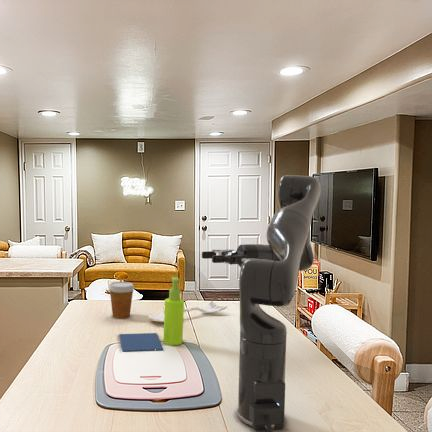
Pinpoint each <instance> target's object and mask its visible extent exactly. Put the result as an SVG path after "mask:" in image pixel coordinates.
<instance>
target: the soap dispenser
mask: <svg viewBox="0 0 432 432" xmlns="http://www.w3.org/2000/svg"><path fill="white" fill-rule="evenodd" d="M170 279H171V280H172V283H171V285H172V286H171V287H170V288H169V291H168V297H167V298H165V299H164V311H163V312H164V323H163V340H162V341H163V343H164V344H165V345H169V346H179V345H182V344H183V335H184V334H183V333H184V314H185V312H184V309H185V300H184V299H182V298H181V288H179V287H178V286H179V282H180V279H179V277H178V276H170Z"/></svg>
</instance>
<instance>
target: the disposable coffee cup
mask: <svg viewBox="0 0 432 432" xmlns="http://www.w3.org/2000/svg"><path fill="white" fill-rule="evenodd" d="M134 289H135V286H134V284H133V283H132V282H129V281H114V282H110V283H109V286H108V290H109V295H110V304H111V312H112V317H113V318H115V319H127V318H129V317H130V316H131V309H132V300H133V294H134Z"/></svg>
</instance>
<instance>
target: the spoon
mask: <svg viewBox="0 0 432 432" xmlns="http://www.w3.org/2000/svg"><path fill="white" fill-rule="evenodd" d="M227 309H228V306H223V305H222V306H220V305H217V304H215V302H214V301H210V302H208V303H207V304H206V305H204V306H202V307H201V308H200V307H197V306H193V307H184V313H186V312H192V311H199V312H201V313H205V314H214V313H218V312H222V311H225V310H227ZM147 317H148V319H149V320H151V321H154V322H157V323H163V324H164V313H153V314H148V316H147Z"/></svg>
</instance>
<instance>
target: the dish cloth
mask: <svg viewBox="0 0 432 432" xmlns="http://www.w3.org/2000/svg"><path fill="white" fill-rule="evenodd" d="M119 340H120V345H121V351H122V352H123V353H125V352H126V353H127V352H149V351H150V352H152V351H153V352H154V350H155V349H156V351H164V347H163V345H162V343H161V340H160V339H159V336H158V334H157V332H149V333H148V332H146V333H119Z"/></svg>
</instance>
